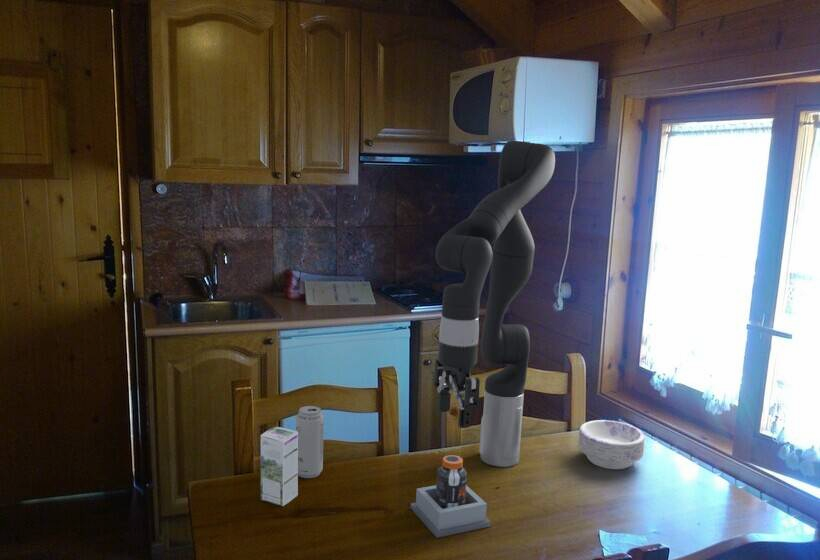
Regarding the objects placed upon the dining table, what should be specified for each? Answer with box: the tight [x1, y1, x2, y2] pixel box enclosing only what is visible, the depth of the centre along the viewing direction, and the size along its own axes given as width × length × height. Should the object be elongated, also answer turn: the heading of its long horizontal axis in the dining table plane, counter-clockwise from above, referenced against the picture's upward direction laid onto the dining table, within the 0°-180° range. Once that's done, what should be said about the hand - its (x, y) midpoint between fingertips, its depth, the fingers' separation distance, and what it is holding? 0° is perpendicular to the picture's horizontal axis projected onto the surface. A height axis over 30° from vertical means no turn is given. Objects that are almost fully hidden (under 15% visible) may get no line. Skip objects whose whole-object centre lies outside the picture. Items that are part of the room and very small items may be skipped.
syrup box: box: [260, 426, 299, 507], centre depth 142 cm, size 6×6×14 cm
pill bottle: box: [435, 454, 468, 509], centre depth 138 cm, size 6×6×11 cm
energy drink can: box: [295, 405, 325, 479], centre depth 154 cm, size 6×6×15 cm
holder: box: [410, 484, 492, 538], centre depth 138 cm, size 12×12×4 cm
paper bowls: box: [578, 419, 646, 470], centre depth 167 cm, size 15×15×8 cm
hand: (453, 418), depth 135 cm, fingers open, 8 cm apart
